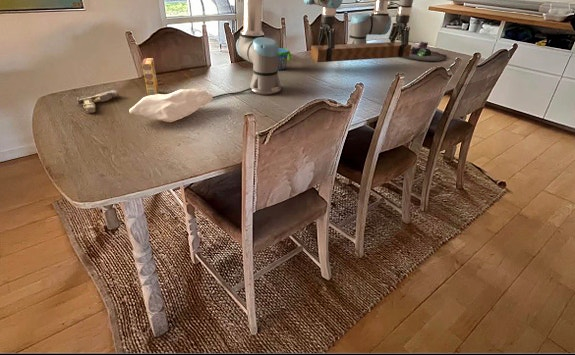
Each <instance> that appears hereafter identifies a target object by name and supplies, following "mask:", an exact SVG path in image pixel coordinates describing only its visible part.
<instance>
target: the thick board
mask: <svg viewBox="0 0 575 355" xmlns="http://www.w3.org/2000/svg"><path fill="white" fill-rule="evenodd" d="M403 44H404V43H403ZM400 45H401V41H395V42H391V41H389V42H388V41H386V42H385V41H384V42H367V43H363V44H347V43H345V44H344V43H341V44H340V43H339V44H335V48H334V49H332V55H331V61H326V55H327V48H328V44H324V45H320V44H318V45H311V46H310V47H311V48H310V56H309V57H310V59H311V60H312V61H314V62H316V63H331V62H347V61H364V60H379V59H380V60H381V59H395V58H396V59H397V58H399V57H398V55H399V50H400ZM412 47H413V46H412V44H410V43H408V45H406V46H405V49H404V52H403V57H402V58H405V57H409V54H410V50H411V49H412Z"/></svg>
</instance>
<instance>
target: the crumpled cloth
mask: <svg viewBox="0 0 575 355" xmlns="http://www.w3.org/2000/svg"><path fill="white" fill-rule="evenodd" d="M213 97H214V96H213V94H212V93H210V92H208V91H206V90H203V89H201V88H187V89H186V88H185V89H184V88H183V89H177V90H175V91H173V92H171V93H167V94H163V93H158V94H156V95H150V96H148V95H146V96H144V97H142V98H141V99H140V100H139V101H138V102H137V103H136V104H134V105H133V106H132V107H131V108H129V114H130V115H135V116H140V117H145V118H146V119H149V120H152V121H155V120H158V121H163V122H166V123H174V122H176V121H178V120H181V119H183V118H185V117H188V116H190V115H192V114H193V113H195V112H196V111H197V110H199V109H200V108H202V107H204V106H206V105H207V104H210V102H211V101H212V100H213V99H214V98H213ZM212 98H213V99H212Z"/></svg>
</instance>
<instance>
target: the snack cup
mask: <svg viewBox="0 0 575 355" xmlns="http://www.w3.org/2000/svg"><path fill="white" fill-rule="evenodd" d="M278 50H279V52H278V71H279V70H280V71H281V70H284V69H286V67H287V62H288V61H289V62H290V61H291V60H292V56H291V51H290V50H289V49H287V48H284V47H283V48H282V47H278Z"/></svg>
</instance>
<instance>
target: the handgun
mask: <svg viewBox="0 0 575 355" xmlns="http://www.w3.org/2000/svg"><path fill="white" fill-rule="evenodd" d="M119 96H120V94H119V92H118V91H117V90H116V89H112V90H108V91H105V92H104V91H103V92H101V93H96V94H94V95H86V94H85V95H84V94H83V95H81V96H80V97H77V98H76V101H77V104H78V105H82V108H83V109H84V110H85V113H87V114H91V113H95V112H96V104H95V103H98V102H106V101H109V100H111V99H113V98H117V97H119Z"/></svg>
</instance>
